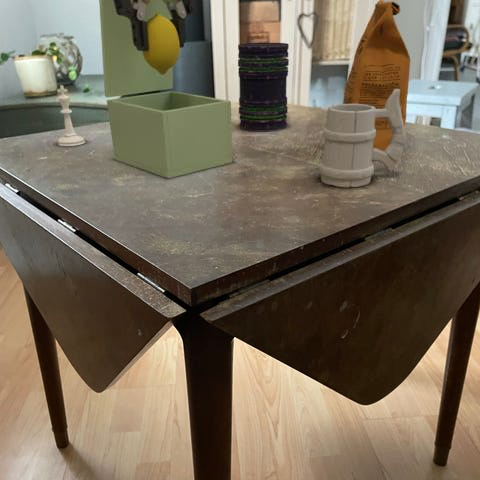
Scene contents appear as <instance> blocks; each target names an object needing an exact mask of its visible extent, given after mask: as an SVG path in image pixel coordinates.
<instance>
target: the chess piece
mask: <svg viewBox="0 0 480 480" xmlns="http://www.w3.org/2000/svg"><path fill="white" fill-rule="evenodd" d="M56 89H57V88H56ZM56 92H57V93H60V94H61V95H60V96H58V97H57V100H58V102H59V103H60V106H61V110H60V112H59V113H60V114H63V117H64V118H63V119H64V134H63V136H62V137H59V138H58V139H57V145H58V146H60V147H77V146H81V145H84V144H86V140H85V137H84V136H81V135H77V134H78V133H77V132H75V129H74V125H73V123H72V119H71V115H70V114H71V113H73V110H72V109H70V108H69V106H70V101H71V100H70V99H71V98H70V96H69V95H66V93H68V92H69V91H68V89H67V88H65V87H64V85H63V84H62V85H60V86H59V88H58V89H57V90H56Z"/></svg>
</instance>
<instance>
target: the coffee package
mask: <svg viewBox="0 0 480 480" xmlns="http://www.w3.org/2000/svg"><path fill="white" fill-rule="evenodd" d="M400 12H401V6H400V4H399V3H397V2H396V1H394V0H392V1H384V0H378V1H377V2H376V3H375V4H374V9H373V12H372V15H371V16H370V19H369V20H368V22H367V24H366V27H365V29H364V31H363V33H362V35H361V38H360V40H359V42H358V44H357V47H356V50H355V53H354V57H353V61H352V65H351V69H350V72H349V75H348V78H347V81H346V84H345V87H344V92H343V93H344V95H343V101H342V104H364V105H369V106H373V107H375V109H384V107H385V104H386V102H387V99H388V98H389V96H391V94H392V93H393V91H394V89H400V95H399V103H400V107H401V114H402V119H403V124H404V126H406V121H407V104H408V95H409V81H410V70H411V57H410V53H409V50H408V48H407V46H406V43H405V41H404V39H403V37H402V35H401V32H400V31H399V29H398V25H397V23H396V21H395V18H394V16H397V15H398V14H400ZM374 128H375V129H376V136H375V138H374V139H373V148H377V149H379V150H381V151H385V149H386V148H387V147H388V146H389V144H391V138H392V134H393V133H392V128H391V126H390V125H389V123H388V121H387V118H376V119H375V124H374Z"/></svg>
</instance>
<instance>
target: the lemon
mask: <svg viewBox="0 0 480 480" xmlns="http://www.w3.org/2000/svg"><path fill="white" fill-rule="evenodd" d="M146 23H147V34H148V45H149V50H148V51H142V52H143V56H144V58H145V60H146V62H147V63H148V64H149V65H150V66H151V67H152V68H154V69H156V70H157V71H158V72H159V73H160V74H162V75H164V74H165V73H166V72H167V71H168V69H170V68H171V67H173V68H174V66H175V65H176V63H177V62H178V60H179V56H180V51H181V50H180V49H181V48H180V43H179V37H178V33H177V30H176V28H175V26H174V25H173V23H172V22H171V21H170V20H168V19H167V18H165V17H163V16H162V15H161V14H159V13H157V14H155V16H154V17H152V18H150V19H149V20H148V21H147V22H146Z"/></svg>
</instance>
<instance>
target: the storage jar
mask: <svg viewBox="0 0 480 480" xmlns="http://www.w3.org/2000/svg"><path fill="white" fill-rule="evenodd" d="M237 47H238V48H237V50H238V54H237V57H238V59H237V67H238V72H237V73H238V77H239V98H238V105H239V107H238V114H239V120H240V122H239V128H240V129H242V130H244V131H249V132H250V131H251V132H273V131H280V130H284V129H286V128H287V127H288V126H287V125H288V123H287V118H288V115H287V114H288V109H289V107H288V97H287V81H288V80H287V77H288V76H289V67H288V66H289V65H290V64H289V63H290V62H289V61H290V59H289V47H290V46H289V43H287V42H249V43H240V44H238V45H237Z"/></svg>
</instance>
